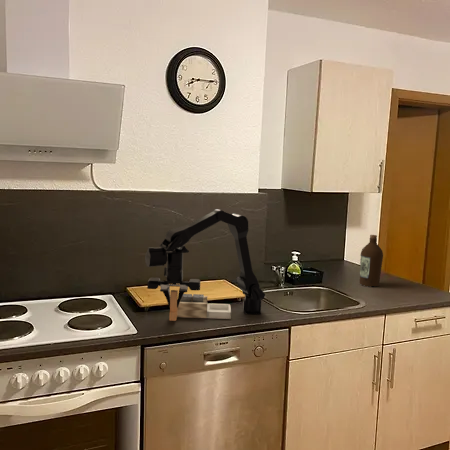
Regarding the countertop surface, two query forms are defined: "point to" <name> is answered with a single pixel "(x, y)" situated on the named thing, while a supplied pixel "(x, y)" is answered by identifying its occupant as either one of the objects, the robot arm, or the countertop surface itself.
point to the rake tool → (173, 305)
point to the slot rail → (193, 309)
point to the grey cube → (186, 298)
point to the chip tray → (219, 311)
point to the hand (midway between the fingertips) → (173, 306)
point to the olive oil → (371, 263)
